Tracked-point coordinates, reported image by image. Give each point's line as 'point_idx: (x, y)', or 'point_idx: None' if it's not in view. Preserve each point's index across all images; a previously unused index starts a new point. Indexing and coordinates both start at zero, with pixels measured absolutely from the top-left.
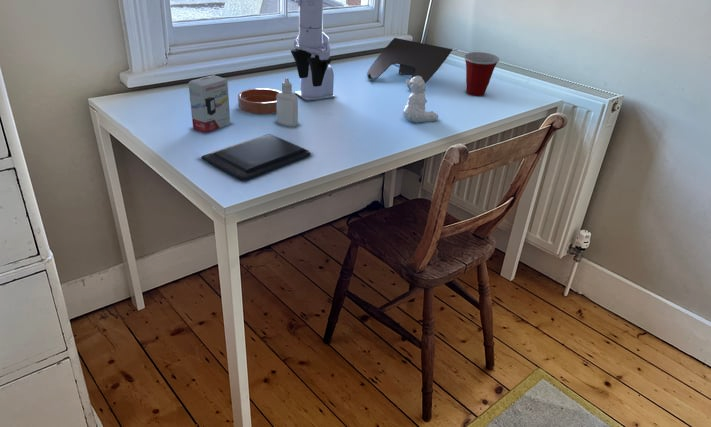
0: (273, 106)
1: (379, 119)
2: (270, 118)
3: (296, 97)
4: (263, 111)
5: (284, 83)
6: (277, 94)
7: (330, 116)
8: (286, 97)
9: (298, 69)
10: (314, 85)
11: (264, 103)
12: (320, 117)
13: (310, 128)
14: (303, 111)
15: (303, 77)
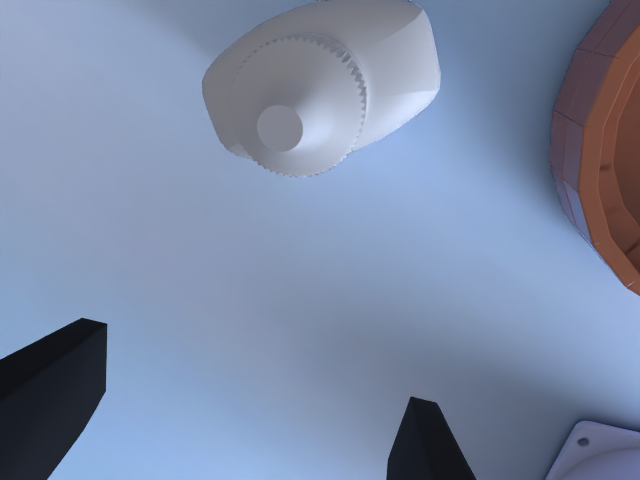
0: (575, 104)
1: (133, 476)
2: (513, 24)
3: (219, 135)
4: (610, 12)
5: (286, 64)
6: (403, 10)
7: (293, 350)
8: (253, 31)
9: (436, 468)
10: (69, 324)
11: (635, 25)
12: (312, 301)
13: (194, 136)
14: (459, 293)
15: (401, 430)
